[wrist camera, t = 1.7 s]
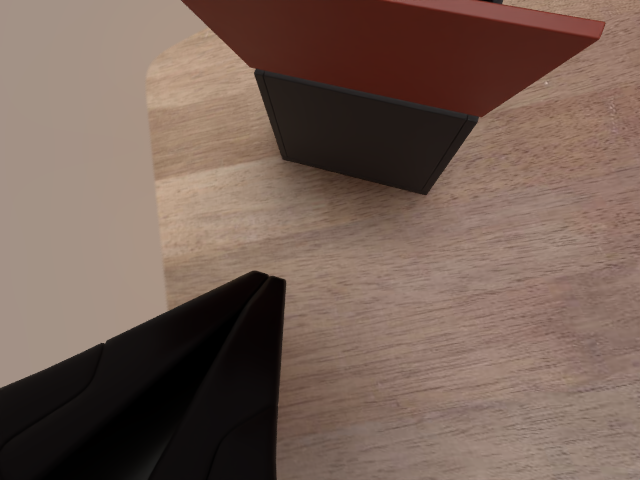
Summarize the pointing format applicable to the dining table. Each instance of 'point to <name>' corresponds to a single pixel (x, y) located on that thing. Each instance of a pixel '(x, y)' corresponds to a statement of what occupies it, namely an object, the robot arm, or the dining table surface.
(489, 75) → the lid
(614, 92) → the dining table surface
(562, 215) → the dining table surface
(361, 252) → the dining table surface
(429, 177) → the black flip box
